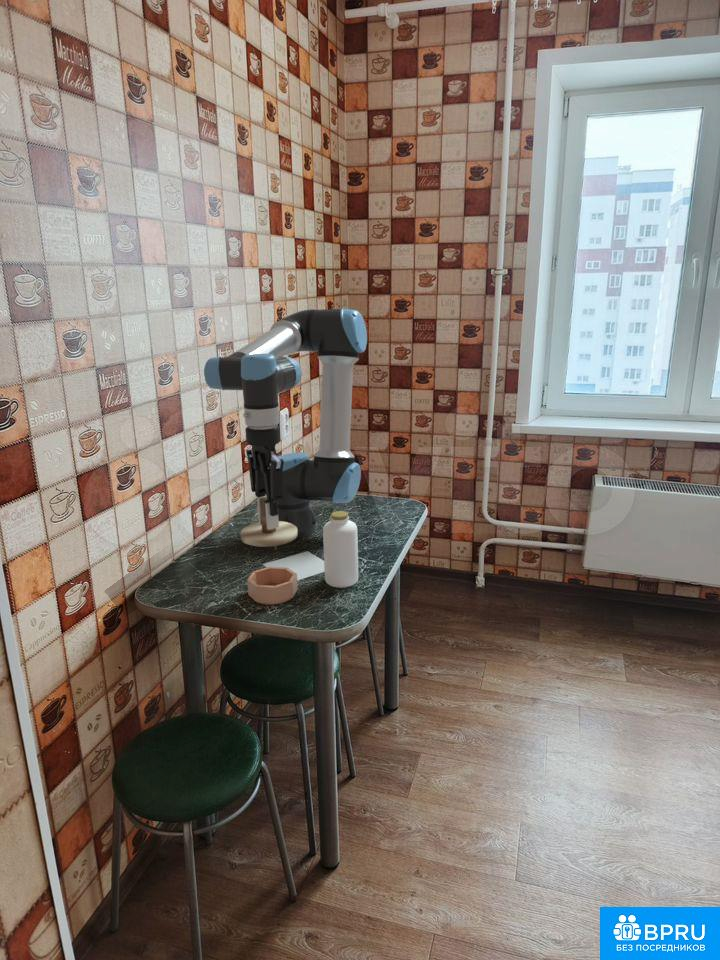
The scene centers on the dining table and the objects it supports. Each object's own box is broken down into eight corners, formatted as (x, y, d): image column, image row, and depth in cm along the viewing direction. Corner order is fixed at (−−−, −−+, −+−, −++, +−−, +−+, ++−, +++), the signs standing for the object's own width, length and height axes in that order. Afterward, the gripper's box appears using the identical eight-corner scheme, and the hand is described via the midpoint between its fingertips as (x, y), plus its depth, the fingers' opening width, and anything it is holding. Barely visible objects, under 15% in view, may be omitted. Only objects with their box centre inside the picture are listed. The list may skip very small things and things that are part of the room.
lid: (231, 534, 152) (228, 497, 150) (280, 521, 159) (278, 486, 157) (257, 551, 142) (254, 512, 139) (308, 537, 149) (306, 500, 147)
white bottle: (324, 575, 165) (321, 508, 160) (357, 573, 166) (355, 507, 161) (325, 590, 157) (322, 520, 152) (359, 588, 158) (358, 519, 153)
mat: (262, 565, 172) (262, 564, 172) (307, 552, 180) (307, 551, 180) (289, 584, 161) (288, 582, 161) (336, 569, 169) (335, 567, 169)
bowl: (242, 594, 156) (241, 575, 155) (282, 581, 163) (281, 563, 161) (264, 611, 148) (262, 591, 147) (304, 597, 154) (303, 578, 153)
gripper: (230, 422, 147) (238, 519, 154) (264, 434, 135) (271, 540, 142) (260, 417, 151) (266, 512, 158) (296, 429, 139) (301, 532, 146)
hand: (268, 525), depth 150 cm, fingers closed on lid, 3 cm apart
